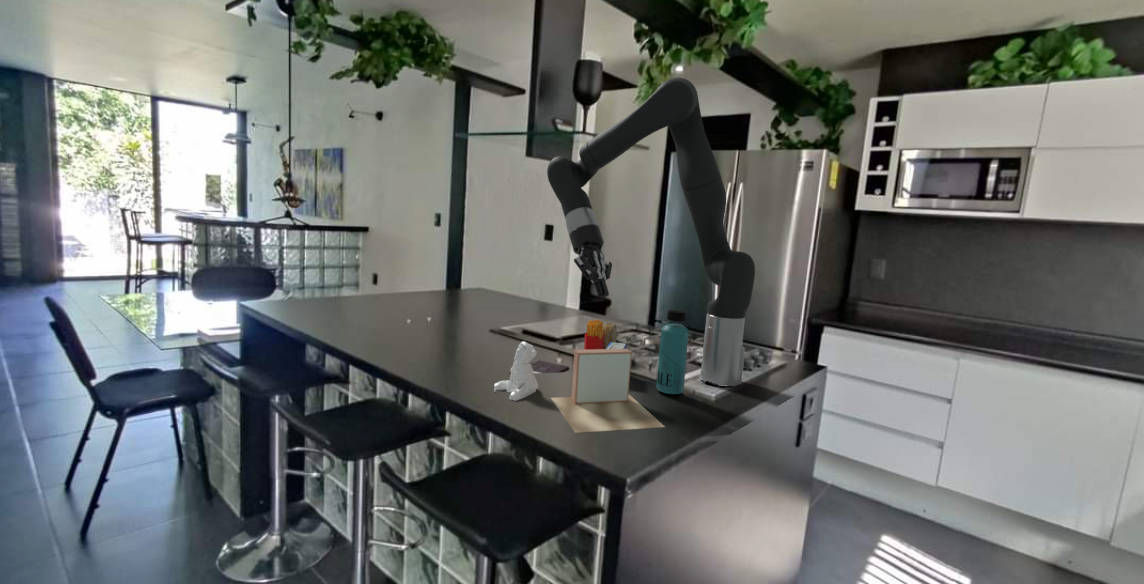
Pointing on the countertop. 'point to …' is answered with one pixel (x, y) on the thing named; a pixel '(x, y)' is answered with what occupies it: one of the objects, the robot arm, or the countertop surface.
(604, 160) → the robot arm
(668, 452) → the countertop surface
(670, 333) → the beverage bottle
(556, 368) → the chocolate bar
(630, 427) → the birch board
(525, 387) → the sitting furry creature
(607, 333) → the tan mottled block
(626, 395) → the glazed tile
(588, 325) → the french fries
